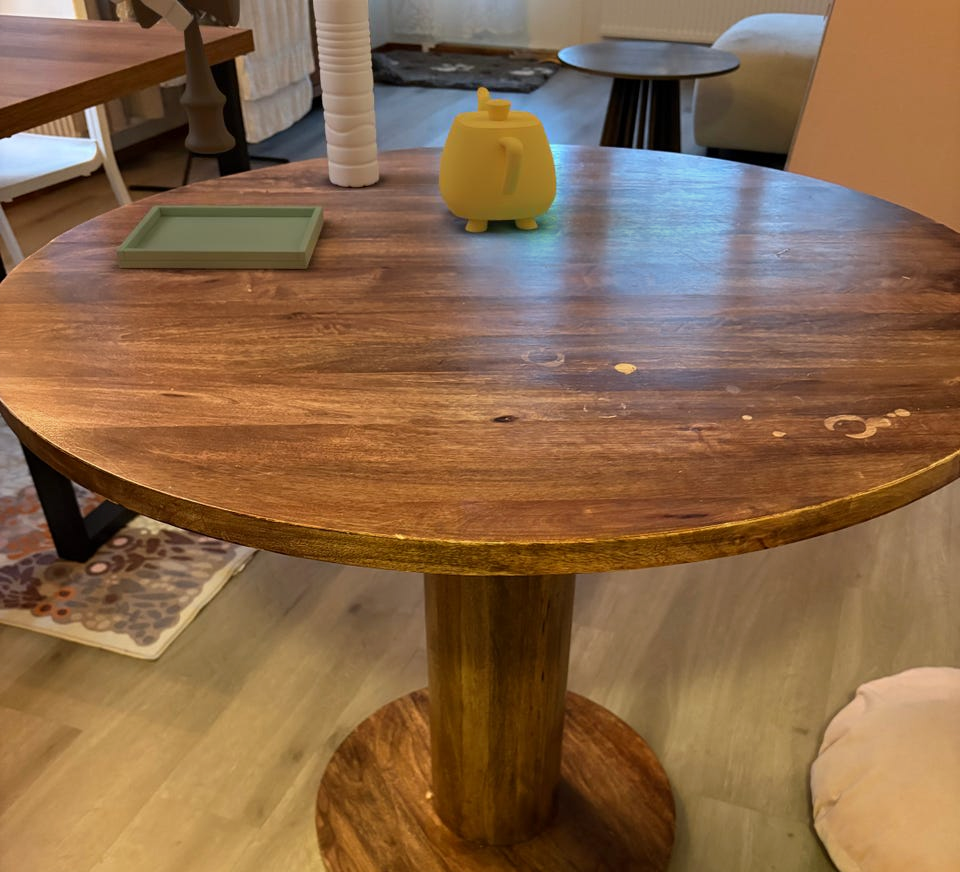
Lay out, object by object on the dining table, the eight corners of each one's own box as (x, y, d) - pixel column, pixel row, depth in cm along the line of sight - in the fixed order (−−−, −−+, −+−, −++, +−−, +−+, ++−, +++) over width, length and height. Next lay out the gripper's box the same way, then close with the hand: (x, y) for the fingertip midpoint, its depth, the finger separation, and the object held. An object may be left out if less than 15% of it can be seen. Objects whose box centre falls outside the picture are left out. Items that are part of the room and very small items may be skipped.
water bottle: (327, 175, 123) (305, -59, 106) (375, 173, 124) (361, -59, 107) (333, 194, 116) (311, -52, 100) (384, 191, 117) (370, -53, 101)
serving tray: (119, 268, 96) (115, 250, 94) (157, 221, 107) (153, 205, 106) (307, 269, 96) (305, 251, 95) (324, 222, 108) (322, 206, 106)
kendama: (171, 143, 97) (125, -97, 84) (262, 143, 98) (230, -96, 85) (158, 158, 93) (107, -94, 80) (253, 158, 93) (219, -92, 80)
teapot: (530, 190, 118) (534, 79, 110) (571, 241, 103) (579, 117, 95) (427, 195, 116) (424, 83, 108) (454, 248, 101) (452, 122, 93)
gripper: (42, -145, 72) (191, 7, 79) (116, -149, 87) (235, -22, 94) (4, -74, 75) (151, 66, 82) (82, -90, 90) (200, 29, 97)
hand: (196, 19), depth 88 cm, fingers closed on kendama, 5 cm apart
